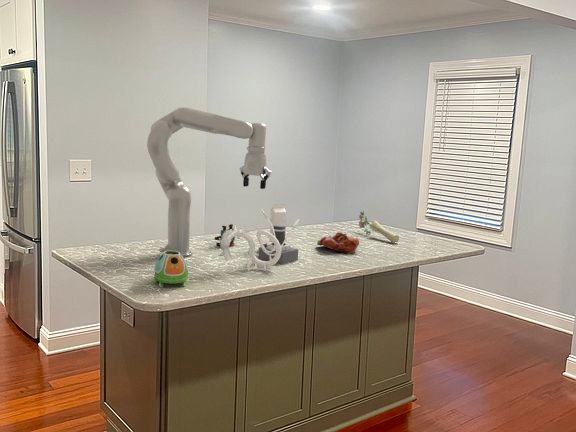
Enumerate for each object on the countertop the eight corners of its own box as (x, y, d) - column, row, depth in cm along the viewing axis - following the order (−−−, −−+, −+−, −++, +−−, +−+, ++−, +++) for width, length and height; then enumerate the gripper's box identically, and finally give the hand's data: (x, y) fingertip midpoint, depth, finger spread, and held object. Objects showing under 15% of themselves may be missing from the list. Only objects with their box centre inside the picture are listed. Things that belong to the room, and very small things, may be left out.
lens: (286, 249, 253) (287, 227, 252) (274, 249, 251) (275, 227, 250) (282, 246, 258) (283, 225, 257) (270, 247, 256) (271, 225, 255)
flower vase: (386, 256, 304) (349, 230, 331) (404, 248, 308) (366, 223, 336) (386, 238, 298) (347, 213, 325) (404, 230, 303) (365, 206, 330)
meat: (308, 246, 287) (309, 226, 285) (345, 244, 295) (346, 225, 294) (327, 255, 268) (329, 234, 266) (366, 253, 277) (367, 233, 275)
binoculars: (222, 223, 284) (237, 224, 278) (223, 244, 285) (238, 245, 279) (209, 225, 277) (224, 226, 271) (210, 246, 278) (225, 248, 272)
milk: (269, 248, 277) (270, 203, 273) (280, 247, 279) (282, 203, 275) (273, 251, 271) (274, 205, 268) (285, 250, 273) (286, 205, 270)
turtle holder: (180, 274, 223) (181, 245, 221) (192, 287, 207) (192, 255, 205) (148, 276, 218) (149, 246, 216) (157, 290, 202) (158, 257, 200)
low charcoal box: (282, 264, 247) (283, 248, 246) (258, 258, 255) (258, 243, 254) (297, 260, 255) (298, 244, 254) (273, 254, 264) (274, 239, 263)
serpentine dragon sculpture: (299, 255, 259) (288, 201, 257) (321, 257, 241) (309, 199, 239) (210, 280, 240) (198, 222, 238) (227, 284, 222) (214, 222, 220)
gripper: (236, 148, 262) (234, 185, 264) (267, 151, 252) (264, 190, 255) (246, 149, 268) (244, 185, 270) (276, 151, 259) (274, 189, 261)
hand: (254, 187), depth 263 cm, fingers open, 9 cm apart
